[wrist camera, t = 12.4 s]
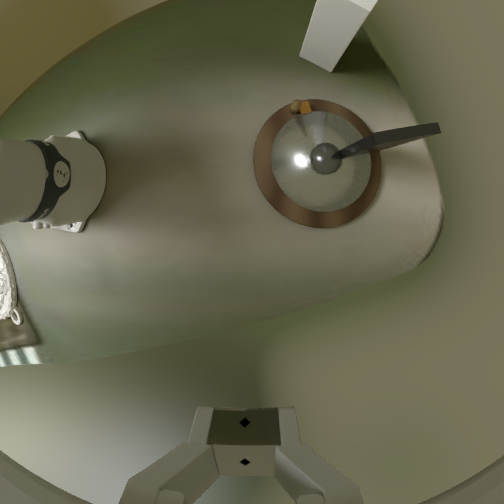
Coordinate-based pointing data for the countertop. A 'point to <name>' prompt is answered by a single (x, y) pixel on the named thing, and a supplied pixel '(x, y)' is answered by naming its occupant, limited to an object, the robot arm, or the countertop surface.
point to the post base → (276, 194)
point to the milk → (333, 30)
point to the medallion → (8, 288)
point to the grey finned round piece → (330, 157)
